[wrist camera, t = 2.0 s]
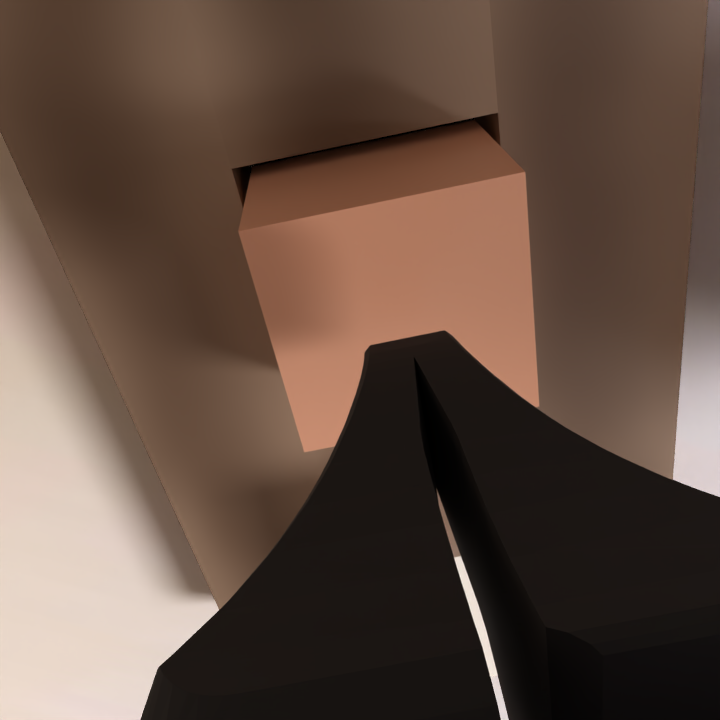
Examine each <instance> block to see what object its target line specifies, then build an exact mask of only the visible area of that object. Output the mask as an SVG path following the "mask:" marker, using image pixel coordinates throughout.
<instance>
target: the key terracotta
mask: <svg viewBox="0 0 720 720" xmlns="http://www.w3.org/2000/svg"><path fill="white" fill-rule="evenodd" d="M238 232H239V236H240V239H241V243H242V246H243V249H244V253H245V256H246V259H247V263H248V266H249V269H250V273H251V276H252V279H253V283H254V286H255V289H256V293H257V296H258V299H259V303H260V306H261V309H262V313H263V316H264V319H265V323H266V326H267V329H268V333H269V336H270V339H271V343H272V346H273V349H274V353H275V356H276V359H277V363H278V366H279V369H280V373H281V376H282V379H283V383H284V386H285V390H286V393H287V396H288V400H289V403H290V406H291V410H292V413H293V416H294V420H295V423H296V426H297V430H298V433H299V436H300V440H301V443H302V446H303V450H304V452H309V451H314V450H319V449H324V448H329V447H334V446H335V445H336V443H337V441H338V438H339V436H340V434H341V432H342V430H343V427H344V425H345V422H346V420H347V417H348V414H349V411H350V409H351V406H352V403H353V400H354V397H355V395H356V391H357V388H358V384H359V381H360V377H361V373H362V369H363V363H364V353H365V351H366V350H367V349H368V347H369V346H370V345H374V344H379V343H384V342H388V341H393V340H398V339H403V338H408V337H413V336H418V335H423V334H428V333H433V332H438V331H443V330H445V331H447V332H448V333H450V334H451V335H452V336H453V337H454V338H455V339H456V340H457V341H458V342H459V343H460V344H461V345H462V346H463V347H464V348H465V349H466V350H467V351H468V352H469V353H470V354H471V355H472V356H473V357H474V358H476V359H477V360H478V361H479V362H480V363H481V364H482V365H483V366H484V367H485V368H487V369H488V370H489V371H490V372H491V373H492V374H494V375H495V376H496V377H497V378H498V379H500V380H501V381H502V382H503V383H505V384H506V385H507V386H508V387H510V388H511V389H512V390H513V391H515V392H516V393H517V394H518V395H520V396H521V397H522V398H524V399H525V400H526V401H528V402H529V403H530V404H532V405H533V406H535V407H539V393H538V376H537V359H536V342H535V325H534V309H533V292H532V275H531V258H530V241H529V224H528V208H527V191H526V174H525V171H524V170H523V169H522V168H521V167H520V166H519V165H518V164H517V163H516V162H515V161H514V160H513V159H512V158H511V157H510V156H509V155H508V154H507V153H506V151H505V150H504V149H503V148H502V147H501V146H500V145H499V144H498V143H497V142H496V141H495V140H494V139H493V138H492V137H491V136H490V135H489V134H488V133H487V132H486V131H485V130H484V129H483V128H482V127H481V126H480V125H479V124H478V123H477V122H476V121H475V120H471V121H466V122H462V123H457V124H452V125H448V126H443V127H438V128H433V129H429V130H424V131H419V132H414V133H410V134H405V135H400V136H395V137H391V138H386V139H381V140H376V141H372V142H367V143H362V144H357V145H353V146H348V147H343V148H338V149H334V150H329V151H324V152H320V153H315V154H310V155H305V156H301V157H296V158H291V159H286V160H282V161H277V162H272V163H267V164H263V165H258V166H253V167H252V171H251V176H250V180H249V185H248V189H247V194H246V198H245V203H244V207H243V212H242V216H241V221H240V225H239V230H238Z"/></svg>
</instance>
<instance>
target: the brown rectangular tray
mask: <svg viewBox="0 0 720 720" xmlns="http://www.w3.org/2000/svg"><path fill="white" fill-rule="evenodd" d="M707 10H708V0H0V131H1V134H2V136H3V138H4V140H5V142H6V145H7V147H8V149H9V151H10V153H11V155H12V158H13V160H14V162H15V164H16V166H17V169H18V171H19V173H20V175H21V177H22V179H23V182H24V184H25V186H26V188H27V190H28V193H29V195H30V197H31V199H32V201H33V204H34V206H35V208H36V210H37V212H38V214H39V217H40V219H41V221H42V223H43V225H44V228H45V230H46V232H47V234H48V236H49V239H50V241H51V243H52V245H53V247H54V249H55V252H56V254H57V256H58V258H59V260H60V263H61V265H62V267H63V269H64V271H65V273H66V276H67V278H68V280H69V282H70V284H71V287H72V289H73V291H74V293H75V295H76V298H77V300H78V302H79V304H80V306H81V308H82V311H83V313H84V315H85V317H86V319H87V322H88V324H89V326H90V328H91V330H92V332H93V335H94V337H95V339H96V341H97V343H98V346H99V348H100V350H101V352H102V354H103V357H104V359H105V361H106V363H107V365H108V367H109V370H110V372H111V374H112V376H113V378H114V381H115V383H116V385H117V387H118V389H119V391H120V394H121V396H122V398H123V400H124V402H125V405H126V407H127V409H128V411H129V413H130V416H131V418H132V420H133V422H134V424H135V426H136V429H137V431H138V433H139V435H140V437H141V440H142V442H143V444H144V446H145V448H146V450H147V453H148V455H149V457H150V459H151V461H152V464H153V466H154V468H155V470H156V472H157V475H158V477H159V479H160V481H161V483H162V485H163V488H164V490H165V492H166V494H167V496H168V499H169V501H170V503H171V505H172V507H173V509H174V512H175V514H176V516H177V518H178V520H179V523H180V525H181V527H182V529H183V531H184V534H185V536H186V538H187V540H188V542H189V544H190V547H191V549H192V551H193V553H194V555H195V558H196V560H197V562H198V564H199V566H200V568H201V571H202V573H203V575H204V577H205V579H206V582H207V584H208V586H209V588H210V590H211V593H212V595H213V597H214V599H215V601H216V603H217V606H218V608H219V610H220V609H221V608H222V607H223V606H224V605H225V604H226V603H227V602H228V601H229V599H230V598H231V597H232V596H233V595H234V594H235V593H236V592H237V590H238V589H239V588H240V587H241V586H242V585H243V583H244V582H245V581H246V580H247V579H248V578H249V576H250V575H251V574H252V573H253V572H254V570H255V569H256V568H257V567H258V566H259V565H260V563H261V562H262V561H263V560H264V559H265V558H266V556H267V555H268V554H269V552H270V551H271V550H272V549H273V547H274V546H275V545H276V543H277V542H278V541H279V539H280V538H281V537H282V535H283V534H284V532H285V531H286V529H287V528H288V526H289V525H290V523H291V522H292V521H293V519H294V518H295V516H296V515H297V513H298V512H299V510H300V509H301V507H302V506H303V504H304V503H305V501H306V499H307V498H308V496H309V494H310V493H311V491H312V489H313V488H314V486H315V484H316V483H317V481H318V479H319V477H320V475H321V474H322V472H323V470H324V468H325V466H326V464H327V462H328V460H329V458H330V456H331V454H332V452H333V449H334V447H335V446H334V447H329V448H324V449H319V450H314V451H309V452H304V450H303V446H302V443H301V440H300V436H299V433H298V430H297V426H296V423H295V420H294V416H293V413H292V410H291V406H290V403H289V400H288V396H287V393H286V390H285V386H284V383H283V379H282V376H281V373H280V369H279V366H278V363H277V359H276V356H275V353H274V349H273V346H272V343H271V339H270V336H269V333H268V329H267V326H266V323H265V319H264V316H263V313H262V309H261V306H260V303H259V299H258V296H257V293H256V289H255V286H254V283H253V279H252V276H251V273H250V269H249V266H248V263H247V259H246V256H245V253H244V249H243V246H242V243H241V239H240V236H239V232H238V230H239V225H240V221H241V216H242V212H243V207H244V203H245V198H246V194H247V189H248V185H249V180H250V176H251V175H250V171H249V168H248V165H252V164H257V163H262V162H267V161H271V160H276V159H281V158H285V157H290V156H295V155H300V154H304V153H309V152H314V151H319V150H323V149H328V148H333V147H338V146H342V145H347V144H352V143H357V142H361V141H366V140H371V139H376V138H380V137H385V136H390V135H394V134H399V133H404V132H409V131H413V130H418V129H423V128H428V127H432V126H437V125H442V124H447V123H451V122H456V121H461V120H466V119H470V118H475V121H476V122H477V123H478V124H479V125H480V126H481V127H482V128H483V129H484V130H485V131H486V132H487V133H488V134H489V135H490V136H491V137H492V138H493V139H494V140H495V141H496V142H497V143H498V144H499V145H500V146H501V147H502V148H503V149H504V150H505V151H506V153H507V154H508V155H509V156H510V157H511V158H512V159H513V160H514V161H515V162H516V163H517V164H518V165H519V166H520V167H521V168H522V169H523V170H524V171H525V174H526V191H527V208H528V224H529V241H530V258H531V275H532V292H533V309H534V325H535V342H536V359H537V376H538V393H539V407H536V408H538V409H539V410H540V411H542V412H543V413H545V414H546V415H548V416H549V417H551V418H552V419H554V420H555V421H557V422H558V423H560V424H561V425H563V426H564V427H566V428H568V429H569V430H571V431H573V432H575V433H576V434H578V435H580V436H582V437H584V438H585V439H587V440H589V441H591V442H592V443H594V444H596V445H598V446H600V447H602V448H604V449H605V450H608V451H610V452H612V453H614V454H616V455H618V456H620V457H622V458H624V459H626V460H628V461H631V462H633V463H635V464H637V465H639V466H642V467H644V468H646V469H648V470H651V471H653V472H655V473H657V474H660V475H662V476H664V477H667V478H669V479H672V480H673V468H674V454H675V441H676V427H677V414H678V400H679V387H680V373H681V360H682V346H683V333H684V320H685V306H686V293H687V279H688V266H689V252H690V239H691V225H692V212H693V198H694V185H695V172H696V158H697V145H698V131H699V118H700V104H701V91H702V77H703V64H704V50H705V37H706V23H707Z"/></svg>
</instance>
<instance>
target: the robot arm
mask: <svg viewBox="0 0 720 720" xmlns="http://www.w3.org/2000/svg"><path fill="white" fill-rule="evenodd" d="M437 491H438V494H439V497H440V499H441V502H442V505H443V508H444V511H445V513H446V516H447V519H448V522H449V525H450V527H451V530H452V533H453V536H454V539H455V541H456V544H457V547H458V550H459V552H460V555H461V558H462V561H463V563H464V566H465V569H466V572H467V575H468V577H469V580H470V583H471V586H472V588H473V591H474V594H475V597H476V600H477V602H478V605H479V609H480V612H481V615H482V618H483V621H484V625H485V628H486V631H487V635H488V639H489V643H490V647H491V651H492V655H493V659H494V663H495V666H496V670H497V674H498V678H499V682H500V686H501V690H502V694H503V698H504V702H505V706H506V710H507V714H508V718H509V720H720V497H718V496H715V495H712V494H709V493H706V492H703V491H700V490H698V489H695V488H692V487H690V486H687V485H685V484H682V483H679V482H677V481H674V480H672V479H669V478H667V477H664V476H662V475H660V474H657V473H655V472H653V471H651V470H648V469H646V468H644V467H642V466H639V465H637V464H635V463H633V462H631V461H628V460H626V459H624V458H622V457H620V456H618V455H616V454H614V453H612V452H610V451H608V450H605V449H604V448H602V447H600V446H598V445H596V444H594V443H592V442H591V441H589V440H587V439H585V438H584V437H582V436H580V435H578V434H576V433H575V432H573V431H571V430H569V429H568V428H566V427H564V426H563V425H561V424H560V423H558V422H557V421H555V420H554V419H552V418H551V417H549V416H548V415H546V414H545V413H543V412H542V411H540V410H539V409H538V408H536V407H535V406H533V405H532V404H530V403H529V402H528V401H526V400H525V399H524V398H522V397H521V396H520V395H518V394H517V393H516V392H515V391H513V390H512V389H511V388H510V387H508V386H507V385H506V384H505V383H503V382H502V381H501V380H500V379H498V378H497V377H496V376H495V375H494V374H492V373H491V372H490V371H489V370H488V369H487V368H485V367H484V366H483V365H482V364H481V363H480V362H479V361H478V360H477V359H476V358H474V357H473V356H472V355H471V354H470V353H469V352H468V351H467V350H466V349H465V348H464V347H463V346H462V345H461V344H460V343H459V342H458V341H457V340H456V339H455V338H454V337H453V336H452V335H451V334H450V333H448V332H447V331H445V330H443V331H438V332H433V333H428V334H423V335H418V336H413V337H408V338H403V339H398V340H393V341H388V342H384V343H379V344H374V345H370V346H369V347H368V349H367V350H366V351H365V353H364V363H363V369H362V373H361V377H360V381H359V384H358V388H357V391H356V395H355V397H354V400H353V403H352V406H351V409H350V411H349V414H348V417H347V420H346V422H345V425H344V427H343V430H342V432H341V434H340V436H339V438H338V441H337V443H336V445H335V447H334V449H333V452H332V454H331V456H330V458H329V460H328V462H327V464H326V466H325V468H324V470H323V472H322V474H321V475H320V477H319V479H318V481H317V483H316V484H315V486H314V488H313V489H312V491H311V493H310V494H309V496H308V498H307V499H306V501H305V503H304V504H303V506H302V507H301V509H300V510H299V512H298V513H297V515H296V516H295V518H294V519H293V521H292V522H291V523H290V525H289V526H288V528H287V529H286V531H285V532H284V534H283V535H282V537H281V538H280V539H279V541H278V542H277V543H276V545H275V546H274V547H273V549H272V550H271V551H270V552H269V554H268V555H267V556H266V558H265V559H264V560H263V561H262V562H261V563H260V565H259V566H258V567H257V568H256V569H255V570H254V572H253V573H252V574H251V575H250V576H249V578H248V579H247V580H246V581H245V582H244V583H243V585H242V586H241V587H240V588H239V589H238V590H237V592H236V593H235V594H234V595H233V596H232V597H231V598H230V599H229V601H228V602H227V603H226V604H225V605H224V606H223V607H222V608H221V609H220V610H219V611H218V612H217V613H216V614H215V615H214V616H213V617H212V618H211V619H210V620H209V621H207V622H206V623H205V624H204V625H203V626H202V627H201V628H200V629H199V630H198V631H197V632H196V633H195V634H194V635H193V636H192V637H191V638H190V639H189V640H188V641H187V642H185V643H184V644H183V645H182V646H181V647H180V648H179V649H178V650H177V651H176V652H175V653H174V654H173V655H172V656H171V657H169V658H168V659H167V660H166V661H165V662H164V663H163V664H162V665H160V666H159V668H158V669H157V672H156V675H155V678H154V681H153V684H152V687H151V690H150V693H149V696H148V699H147V702H146V705H145V708H144V711H143V714H142V717H141V720H501V719H500V714H499V709H498V705H497V701H496V697H495V693H494V689H493V686H492V682H491V678H490V674H489V670H488V666H487V663H486V659H485V655H484V651H483V647H482V644H481V641H480V638H479V635H478V632H477V629H476V626H475V623H474V620H473V617H472V614H471V611H470V607H469V604H468V601H467V598H466V595H465V592H464V588H463V585H462V582H461V579H460V576H459V572H458V569H457V566H456V562H455V559H454V556H453V552H452V549H451V545H450V542H449V539H448V535H447V532H446V529H445V525H444V522H443V518H442V515H441V511H440V507H439V503H438V496H437Z"/></svg>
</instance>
